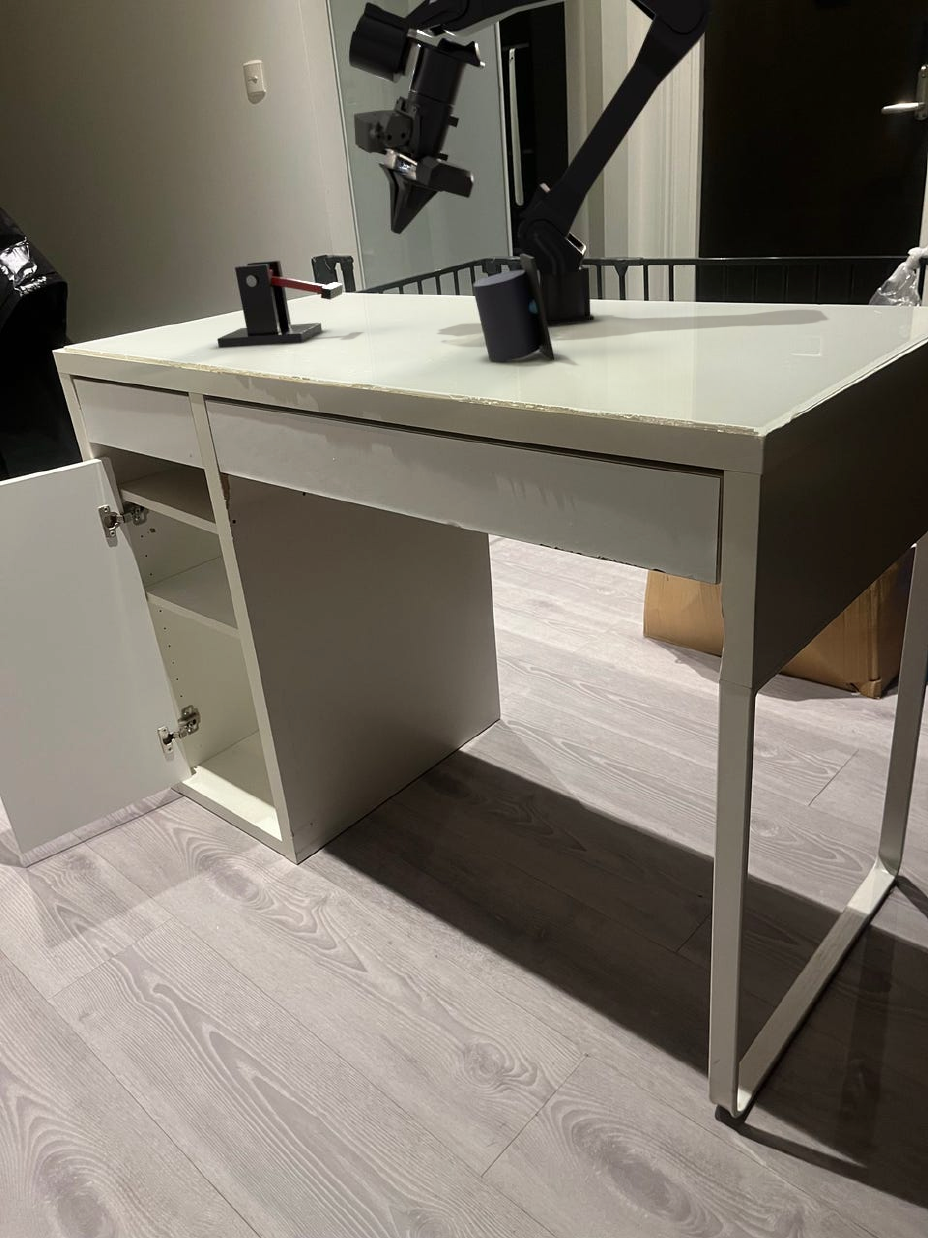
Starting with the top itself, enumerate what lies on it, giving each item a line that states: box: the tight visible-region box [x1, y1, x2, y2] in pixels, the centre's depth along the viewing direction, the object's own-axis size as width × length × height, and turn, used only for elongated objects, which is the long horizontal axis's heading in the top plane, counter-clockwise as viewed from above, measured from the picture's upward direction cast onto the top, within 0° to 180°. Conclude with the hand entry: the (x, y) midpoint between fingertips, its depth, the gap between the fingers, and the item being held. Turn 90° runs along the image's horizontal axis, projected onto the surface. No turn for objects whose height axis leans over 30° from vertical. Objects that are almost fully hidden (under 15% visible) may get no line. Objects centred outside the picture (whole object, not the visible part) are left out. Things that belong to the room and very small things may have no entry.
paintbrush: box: [270, 269, 344, 301], centre depth 123 cm, size 12×5×2 cm, turn 79°
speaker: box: [472, 253, 555, 363], centre depth 98 cm, size 8×6×10 cm
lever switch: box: [216, 260, 323, 349], centre depth 124 cm, size 12×8×10 cm, turn 79°
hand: (395, 232), depth 116 cm, fingers closed
